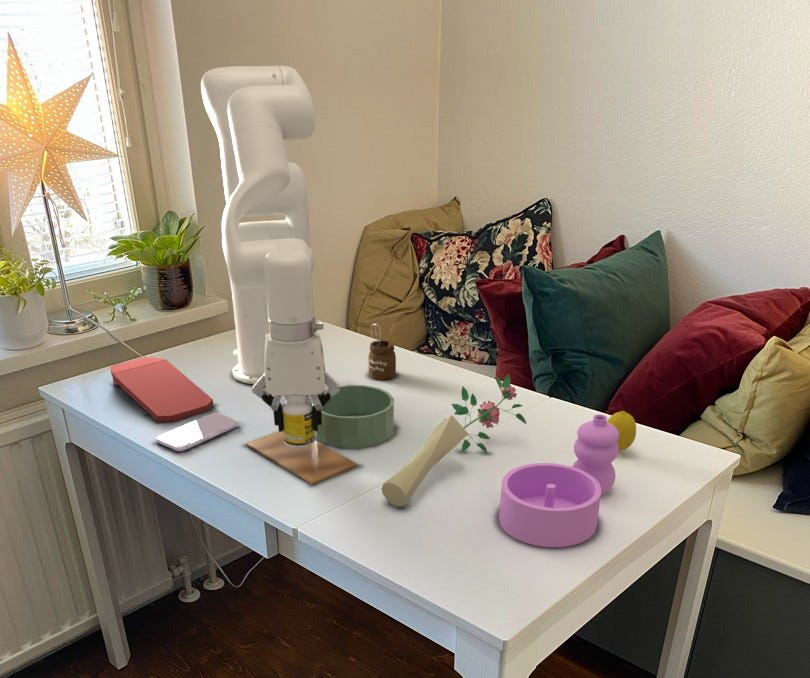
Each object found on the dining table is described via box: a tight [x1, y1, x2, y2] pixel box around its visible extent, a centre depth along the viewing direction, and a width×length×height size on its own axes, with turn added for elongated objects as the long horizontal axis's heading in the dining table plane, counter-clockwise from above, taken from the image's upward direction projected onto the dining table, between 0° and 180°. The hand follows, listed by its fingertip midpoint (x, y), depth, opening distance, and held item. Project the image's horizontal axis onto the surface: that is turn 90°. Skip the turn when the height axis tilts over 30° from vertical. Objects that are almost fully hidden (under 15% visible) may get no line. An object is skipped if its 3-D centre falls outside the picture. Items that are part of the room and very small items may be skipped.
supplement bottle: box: [282, 395, 315, 448], centre depth 154 cm, size 5×5×10 cm
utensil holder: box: [367, 323, 397, 381], centre depth 187 cm, size 6×6×12 cm
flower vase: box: [381, 374, 527, 508], centre depth 153 cm, size 12×12×35 cm
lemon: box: [607, 410, 637, 452], centre depth 157 cm, size 6×6×8 cm
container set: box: [498, 414, 620, 548], centre depth 139 cm, size 25×15×13 cm, turn 140°
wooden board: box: [245, 431, 358, 486], centre depth 158 cm, size 20×10×1 cm, turn 42°
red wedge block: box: [109, 355, 214, 423], centre depth 179 cm, size 12×5×25 cm
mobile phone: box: [155, 412, 240, 452], centre depth 165 cm, size 8×1×15 cm
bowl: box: [311, 384, 395, 449], centre depth 165 cm, size 15×15×6 cm
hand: (298, 427), depth 155 cm, fingers closed on supplement bottle, 5 cm apart
